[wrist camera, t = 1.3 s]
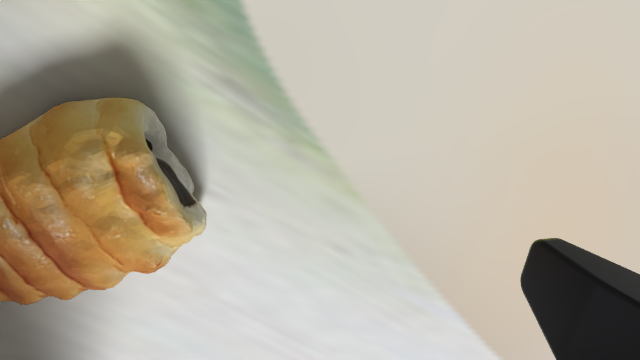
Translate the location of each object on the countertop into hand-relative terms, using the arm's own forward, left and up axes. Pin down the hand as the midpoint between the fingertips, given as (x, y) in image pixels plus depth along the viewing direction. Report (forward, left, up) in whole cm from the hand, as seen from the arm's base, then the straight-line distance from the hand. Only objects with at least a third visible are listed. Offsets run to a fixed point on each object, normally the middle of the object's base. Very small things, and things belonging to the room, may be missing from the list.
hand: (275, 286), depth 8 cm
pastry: (-6, +4, -13) cm, 15 cm away
